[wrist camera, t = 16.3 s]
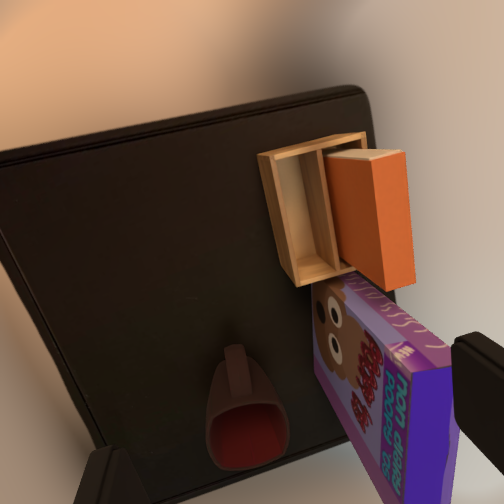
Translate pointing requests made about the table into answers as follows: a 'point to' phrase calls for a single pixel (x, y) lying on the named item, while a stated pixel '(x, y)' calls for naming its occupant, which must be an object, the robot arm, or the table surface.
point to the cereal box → (387, 389)
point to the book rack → (304, 207)
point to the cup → (244, 415)
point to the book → (372, 213)
